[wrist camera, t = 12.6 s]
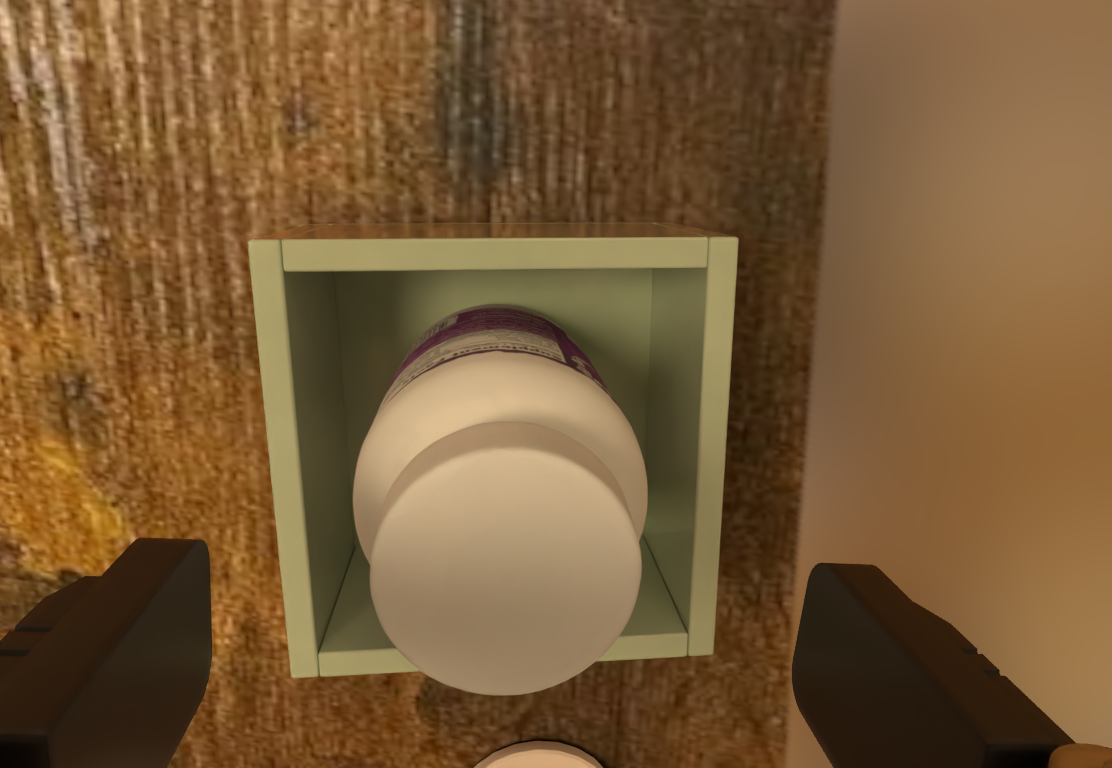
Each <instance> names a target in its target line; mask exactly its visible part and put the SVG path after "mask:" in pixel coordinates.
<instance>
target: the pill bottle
mask: <svg viewBox="0 0 1112 768" xmlns="http://www.w3.org/2000/svg"><path fill="white" fill-rule="evenodd" d="M647 499H648V486H647V475H646V470H645V464H644V460H643V457H642V453H641V450H640V447H639V444H638V441H637V438H636V436H635V434H634V431H633V429H632V426H631V425H630V423H629V421H628V420H627V418H626V417H625V415H624V413H623V412H622V410H621V409H620V408H619V406H618V405H617V403H616V401H615V400H614V398H613V397H612V395H611V394H610V392H609V390H608V389H607V387H606V386H605V384H604V383H603V381H602V379H601V378H600V376H599V374H598V373H597V371H596V369H595V368H594V366H593V364H592V363H591V361H590V360H589V358H588V357H587V356H586V354H585V353H584V351H583V350H582V349H581V347H580V346H579V345H578V344H577V342H576V341H575V340H574V339H573V338H572V336H570V335H569V334H568V333H567V332H566V331H565V330H564V329H563V328H562V327H560V326H559V325H558V324H557V323H555V322H554V321H552V320H550V319H549V318H547V317H545V316H543V315H541V314H539V313H536V312H534V311H531V310H528V309H525V308H522V307H518V306H513V305H506V304H488V305H480V306H474V307H469V308H466V309H463V310H460V311H457V312H455V313H452V314H450V315H448V316H446V317H444V318H442V319H441V320H439V321H438V322H436V323H435V324H433V325H432V326H431V327H430V328H428V329H427V330H426V331H425V332H424V333H423V334H422V335H421V336H420V337H419V338H418V339H417V340H416V342H415V343H414V344H413V345H412V347H411V348H410V350H409V351H408V353H407V354H406V356H405V358H404V359H403V361H402V363H401V365H400V366H399V368H398V370H397V372H396V374H395V376H394V378H393V380H392V382H391V384H390V386H389V388H388V390H387V392H386V394H385V397H384V399H383V401H382V403H381V405H380V407H379V410H378V412H377V414H376V417H375V419H374V421H373V423H372V425H371V427H370V429H369V432H368V434H367V436H366V438H365V440H364V442H363V444H362V447H361V451H360V454H359V457H358V461H357V467H356V472H355V479H354V487H353V510H354V520H355V527H356V531H357V535H358V538H359V541H360V545H361V547H362V550H363V552H364V555H365V557H366V558H367V560H368V562H369V564H370V590H371V597H372V600H373V604H374V607H375V611H376V613H377V616H378V619H379V622H380V624H381V626H382V628H383V630H384V632H385V633H386V635H387V636H388V637H389V639H390V640H391V642H392V643H393V644H394V646H395V647H396V648H397V649H398V651H399V652H400V653H401V654H402V655H403V656H404V657H405V658H406V659H407V660H408V661H409V662H411V663H412V664H413V665H414V666H415V667H416V668H417V669H418V670H420V671H421V672H423V673H424V674H426V675H428V676H429V677H431V678H433V679H435V680H437V681H439V682H441V683H443V684H445V685H448V686H451V687H454V688H457V689H460V690H464V691H468V692H472V693H478V694H485V695H522V694H526V693H532V692H536V691H541V690H544V689H546V688H549V687H552V686H555V685H557V684H560V683H562V682H564V681H566V680H568V679H570V678H572V677H574V676H576V675H577V674H579V673H581V672H582V671H584V670H585V669H586V668H588V667H589V666H590V665H592V664H593V663H594V662H595V661H596V660H598V659H599V658H600V657H602V656H603V655H604V654H605V653H606V652H607V651H608V650H609V648H610V647H611V646H612V645H613V643H614V642H615V641H616V639H617V638H618V637H619V636H620V634H621V633H622V631H623V629H624V628H625V626H626V624H627V623H628V621H629V619H630V616H631V614H632V612H633V609H634V606H635V604H636V600H637V596H638V592H639V586H640V581H641V572H642V562H641V550H640V545H639V540H640V537H641V534H642V531H643V527H644V524H645V519H646V513H647Z"/></svg>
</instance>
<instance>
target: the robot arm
mask: <svg viewBox="0 0 1112 768" xmlns="http://www.w3.org/2000/svg"><path fill="white" fill-rule="evenodd" d="M211 660H212V628H211V594H210V561H209V552H208V548H207V545H206V543H205V542H204V541H203V540H192V539H164V538H138V539H136V540H135V541H134V542H133V543H132V544H131V545H130V546H129V547H128V548H127V549H126V550H125V551H124V552H123V553H122V555H121V556H120V557H119V558H118V559H117V560H116V561H115V562H114V563H113V564H112V565H111V566H110V567H109V568H108V569H107V570H106V572H105V573H104V574H103V575H102V576H101V577H100V576H85V577H83V578H81V579H79V580H77V581H75V582H74V583H72V584H70V585H68V586H66V587H64V588H62V589H60V590H59V591H57V592H55V593H53V594H51V595H49V596H47V597H45V598H44V599H43V600H42V601H41V602H40V603H38V604H37V605H36V606H35V607H34V608H33V609H32V610H31V611H30V612H29V613H28V614H27V615H26V616H25V617H24V618H23V619H22V620H21V621H20V622H19V623H18V624H17V625H16V627H15V631H14V632H13V631H10V632H9V633H8V634H7V635H6V636H5V637H4V638H3V639H1V640H0V768H167V766H168V764H169V762H170V760H171V758H172V756H173V754H174V753H175V751H176V749H177V747H178V745H179V743H180V741H181V739H182V737H183V736H184V734H185V732H186V730H187V728H188V726H189V724H190V722H191V720H192V718H193V717H194V715H195V713H196V711H197V709H198V707H199V705H200V703H201V701H202V699H203V696H204V693H205V690H206V687H207V683H208V679H209V674H210V668H211ZM999 671H1000V670H999V669H997V667H995V666H994V665H993V664H992V663H991V662H990V661H989V660H988V659H987V658H986V657H985V656H984V655H983V654H978V653H977V648H975V647H974V646H973V645H972V644H971V643H970V642H969V641H968V640H967V639H966V638H965V637H964V636H963V635H962V634H961V633H960V632H959V631H957V629H956V628H954V627H953V626H952V625H951V624H950V623H948V622H947V621H945V620H943V619H942V618H940V617H938V616H937V615H935V614H933V613H932V612H930V611H928V610H926V609H925V608H923V607H921V606H920V605H918V604H916V603H915V602H912V600H911V599H909V598H908V597H907V596H906V595H905V594H904V593H903V592H902V591H901V590H900V589H899V588H898V587H897V586H896V585H895V584H894V583H893V582H892V581H891V580H890V579H889V578H888V577H887V576H886V575H885V574H884V573H883V572H882V571H881V570H880V569H879V568H877V567H876V566H874V565H863V564H836V563H819V564H817V565H816V566H815V567H814V568H813V569H812V571H811V574H810V576H809V579H808V583H807V589H806V594H805V599H804V605H803V610H802V615H801V620H800V625H799V631H798V636H797V641H796V646H795V652H794V657H793V663H792V684H793V691H794V695H795V699H796V703H797V705H798V708H799V710H800V712H801V714H802V716H803V717H804V719H805V721H806V722H807V724H808V726H809V727H810V729H811V731H812V732H813V734H814V736H815V737H816V739H817V741H818V742H819V744H820V746H821V747H822V749H823V751H824V752H825V754H826V756H827V757H828V759H829V761H830V762H831V764H832V766H833V767H834V768H1112V748H1108V747H1103V746H1099V745H1092V744H1078V743H1075V742H1074V741H1073V740H1072V739H1071V738H1070V737H1069V736H1068V735H1067V734H1066V733H1065V732H1064V731H1063V730H1061V728H1059V727H1058V726H1057V725H1056V724H1055V723H1054V722H1053V721H1052V720H1051V719H1050V718H1049V717H1048V716H1047V715H1046V714H1045V713H1044V712H1043V711H1042V710H1041V709H1040V708H1038V707H1037V706H1036V705H1035V704H1034V703H1033V702H1032V701H1031V700H1030V699H1029V698H1028V697H1027V696H1026V695H1025V694H1024V693H1022V691H1021V690H1020V689H1019V688H1017V687H1016V686H1015V685H1014V684H1013V683H1012V682H1011V681H1010V680H1009V679H1008V678H1007V677H1006V676H1000V674H999Z"/></svg>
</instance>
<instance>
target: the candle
mask: <svg viewBox="0 0 1112 768" xmlns="http://www.w3.org/2000/svg"><path fill="white" fill-rule="evenodd" d="M474 768H603V767H602V766H601V765H600V764H599V763H598V761H597V760H596V759H595V758H593V757H592V756H590V755H588V754H587V753H585V752H583V751H582V750H580V749H579V748H576V747H573V746H569V745H566V744H563V743H559V742H549V741H531V742H525V743H519V744H514V745H512V746H509V747H507V748H504V749H502V750H499V751H497V752H494V753H493V754H491V755H490V756H488V757H487V758H486V759H484V760H483V761H481V762H480V763H478V764H477V765H476V766H475V767H474Z"/></svg>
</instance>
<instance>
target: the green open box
mask: <svg viewBox="0 0 1112 768" xmlns="http://www.w3.org/2000/svg"><path fill="white" fill-rule="evenodd" d="M738 243H739V240H738V238H737V237H735V236H730V235H726V234H721V233H717V232H712V231H708V230H704V229H699V228H695V227H690V226H686V225H681V224H677V223H672V222H468V223H312V224H308V225H305V226H301V227H297V228H293V229H289V230H285V231H281V232H277V233H274V234H270V235H266V236H262V237H258V238H254V239H251V240H248V253H249V263H250V273H251V283H252V293H253V303H254V313H255V323H256V333H257V343H258V353H259V363H260V373H261V383H262V393H263V403H264V413H265V423H266V433H267V443H268V453H269V463H270V473H271V483H272V492H273V502H274V512H275V522H276V532H277V542H278V552H279V562H280V572H281V582H282V592H283V602H284V612H285V622H286V632H287V642H288V652H289V662H290V672H291V677H292V678H308V677H317V676H319V674H320V676H322V677H328V676H346V675H364V674H381V673H399V672H417V671H420V670H418V669H417V668H416V667H415V666H414V665H413V664H412V663H411V662H409V661H408V660H407V659H406V658H405V657H404V656H403V655H402V654H401V653H400V652H399V651H398V649H397V648H396V647H395V646H394V644H393V643H392V642H391V640H390V639H389V637H388V636H387V635H386V633H385V632H384V630H383V628H382V626H381V624H380V622H379V619H378V616H377V613H376V611H375V607H374V604H373V600H372V597H371V590H370V564H369V562H368V560H367V558H366V557H365V555H364V552H363V550H362V547H361V545H360V541H359V538H358V535H357V531H356V527H355V520H354V510H353V487H354V479H355V472H356V467H357V461H358V457H359V454H360V451H361V447H362V444H363V442H364V440H365V438H366V436H367V434H368V432H369V429H370V427H371V425H372V423H373V421H374V419H375V417H376V414H377V412H378V410H379V407H380V405H381V403H382V401H383V399H384V397H385V394H386V392H387V390H388V388H389V386H390V384H391V382H392V380H393V378H394V376H395V374H396V372H397V370H398V368H399V366H400V365H401V363H402V361H403V359H404V358H405V356H406V354H407V353H408V351H409V350H410V348H411V347H412V345H413V344H414V343H415V342H416V340H417V339H418V338H419V337H420V336H421V335H422V334H423V333H424V332H425V331H426V330H427V329H428V328H430V327H431V326H432V325H433V324H435V323H436V322H438V321H439V320H441V319H442V318H444V317H446V316H448V315H450V314H452V313H455V312H457V311H460V310H463V309H466V308H469V307H474V306H480V305H488V304H506V305H513V306H518V307H522V308H525V309H528V310H531V311H534V312H536V313H539V314H541V315H543V316H545V317H547V318H549V319H550V320H552V321H554V322H555V323H557V324H558V325H559V326H560V327H562V328H563V329H564V330H565V331H566V332H567V333H568V334H569V335H570V336H572V338H573V339H574V340H575V341H576V342H577V344H578V345H579V346H580V347H581V349H582V350H583V351H584V353H585V354H586V356H587V357H588V358H589V360H590V361H591V363H592V364H593V366H594V368H595V369H596V371H597V373H598V374H599V376H600V378H601V379H602V381H603V383H604V384H605V386H606V387H607V389H608V390H609V392H610V394H611V395H612V397H613V398H614V400H615V401H616V403H617V405H618V406H619V408H620V409H621V410H622V412H623V413H624V415H625V417H626V418H627V420H628V421H629V423H630V425H631V426H632V429H633V431H634V434H635V436H636V438H637V441H638V444H639V447H640V450H641V453H642V457H643V460H644V464H645V470H646V475H647V486H648V499H647V513H646V519H645V524H644V527H643V531H642V534H641V537H640V540H639V545H640V550H641V562H642V572H641V581H640V586H639V592H638V596H637V600H636V604H635V606H634V609H633V612H632V614H631V616H630V619H629V621H628V623H627V624H626V626H625V628H624V629H623V631H622V633H621V634H620V636H619V637H618V638H617V639H616V641H615V642H614V643H613V645H612V646H611V647H610V648H609V650H608V651H607V652H606V653H605V654H604V655H603V656H602V657H600V658H599V659H598V660H596V661H613V660H631V659H649V658H667V657H685V656H686V655H687V653H688V655H689V656H701V655H712V654H713V651H714V635H715V619H716V603H717V586H718V570H719V554H720V537H721V521H722V505H723V488H724V472H725V456H726V439H727V423H728V407H729V390H730V374H731V358H732V341H733V325H734V309H735V292H736V276H737V260H738ZM596 661H595V662H596Z"/></svg>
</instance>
